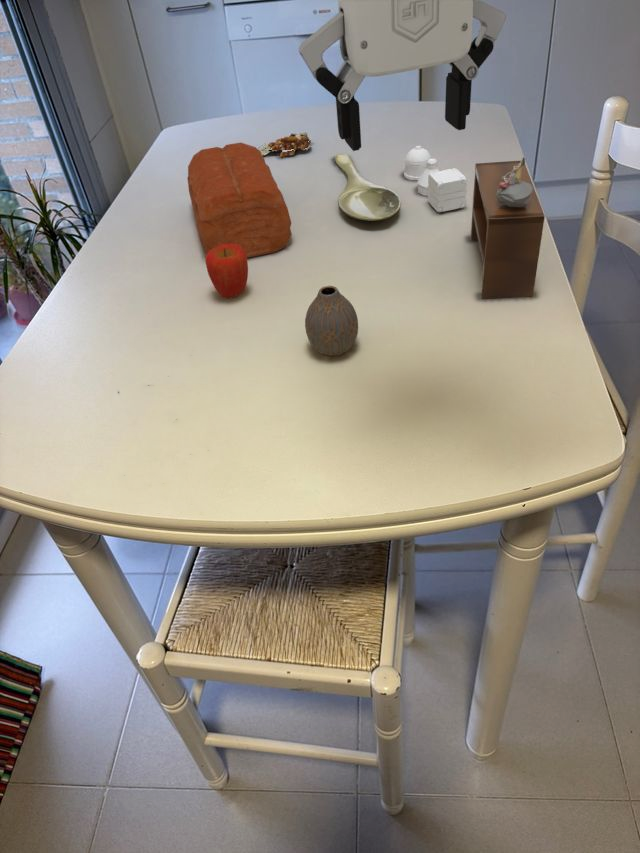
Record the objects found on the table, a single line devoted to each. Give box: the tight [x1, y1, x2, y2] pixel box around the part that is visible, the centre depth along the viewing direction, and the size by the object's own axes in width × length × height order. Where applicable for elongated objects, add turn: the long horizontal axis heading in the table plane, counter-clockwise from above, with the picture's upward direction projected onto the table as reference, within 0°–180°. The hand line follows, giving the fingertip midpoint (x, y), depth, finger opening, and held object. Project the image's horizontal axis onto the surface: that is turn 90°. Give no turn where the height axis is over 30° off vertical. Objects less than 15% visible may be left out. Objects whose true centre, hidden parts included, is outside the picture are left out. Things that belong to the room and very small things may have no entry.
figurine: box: [497, 157, 533, 207], centre depth 84 cm, size 5×4×6 cm
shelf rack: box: [470, 160, 546, 299], centre depth 94 cm, size 7×18×12 cm, turn 176°
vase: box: [304, 285, 359, 357], centre depth 84 cm, size 7×7×9 cm
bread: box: [187, 142, 292, 259], centre depth 113 cm, size 16×27×11 cm, turn 14°
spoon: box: [333, 153, 402, 222], centre depth 121 cm, size 35×11×2 cm, turn 10°
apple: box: [205, 244, 249, 299], centre depth 97 cm, size 6×6×8 cm
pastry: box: [257, 132, 313, 159], centre depth 138 cm, size 7×12×4 cm, turn 96°
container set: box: [403, 145, 468, 213], centre depth 117 cm, size 20×5×6 cm, turn 13°
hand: (404, 135), depth 58 cm, fingers open, 9 cm apart
